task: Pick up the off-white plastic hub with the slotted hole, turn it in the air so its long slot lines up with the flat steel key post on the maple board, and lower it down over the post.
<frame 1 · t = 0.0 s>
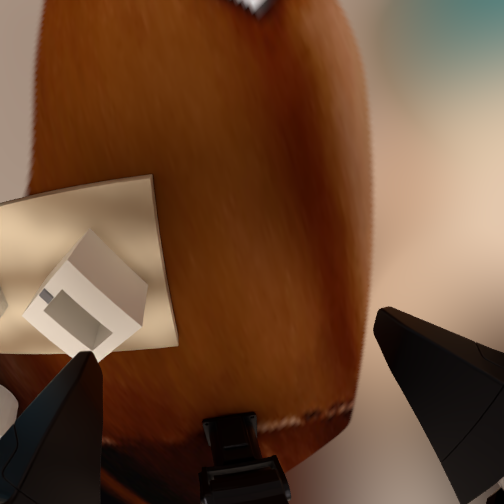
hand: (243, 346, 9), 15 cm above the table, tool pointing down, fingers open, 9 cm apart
key post: (4, 282, 20), resting on maple board
shot glass: (1, 394, 25), on the table
hub: (94, 281, 20), point 1 cm above the table, touching maple board
maple board: (46, 278, 21), on the table
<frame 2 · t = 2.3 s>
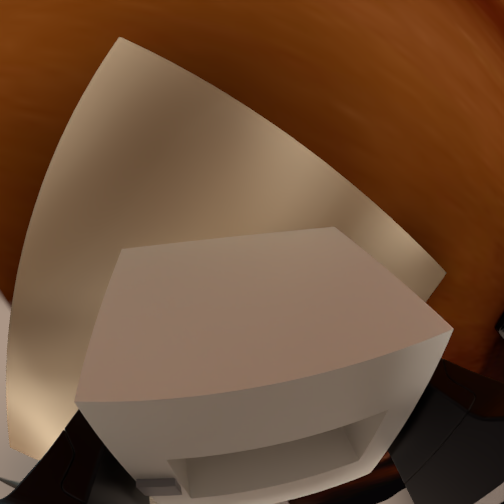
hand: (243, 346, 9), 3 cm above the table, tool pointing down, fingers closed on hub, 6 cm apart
shot glass: (259, 503, 22), on the table
hub: (237, 325, 9), point 2 cm above the table, touching gripper, maple board
maple board: (170, 383, 12), on the table
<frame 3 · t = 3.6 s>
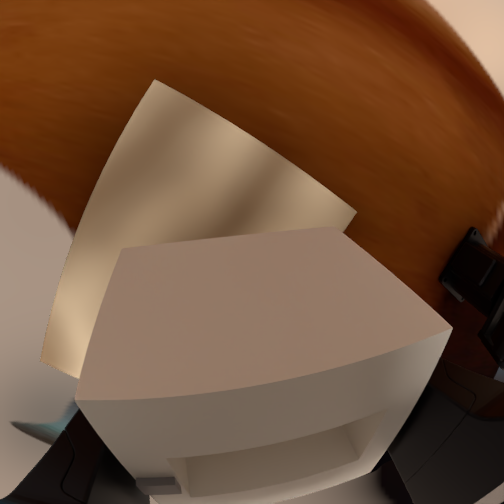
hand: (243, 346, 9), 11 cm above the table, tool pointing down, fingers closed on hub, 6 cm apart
hub: (237, 324, 9), point 10 cm above the table, touching gripper
maple board: (172, 287, 19), on the table
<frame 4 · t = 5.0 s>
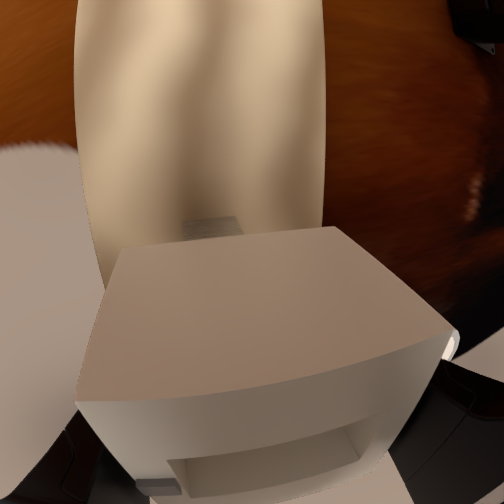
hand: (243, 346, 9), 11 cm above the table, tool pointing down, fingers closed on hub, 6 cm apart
key post: (207, 220, 19), resting on maple board
hub: (237, 324, 9), point 10 cm above the table, touching gripper
maple board: (202, 139, 17), on the table
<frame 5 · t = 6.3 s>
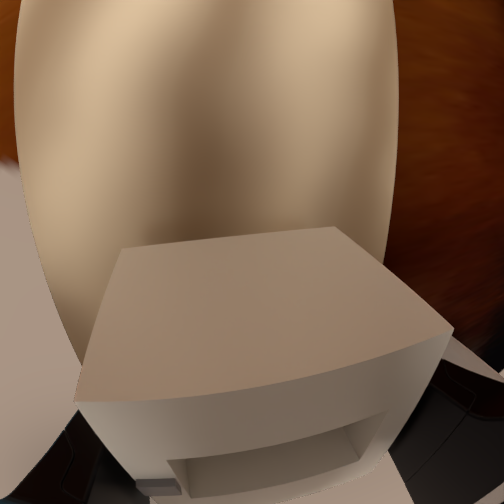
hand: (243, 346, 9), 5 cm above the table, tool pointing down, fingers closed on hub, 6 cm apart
shot glass: (427, 360, 21), on the table
hub: (237, 325, 9), point 4 cm above the table, touching gripper
maple board: (212, 149, 11), on the table
when the fingers open (3 cm above the table, at t = 7.6 s): hub stays where it is, resting on maple board.
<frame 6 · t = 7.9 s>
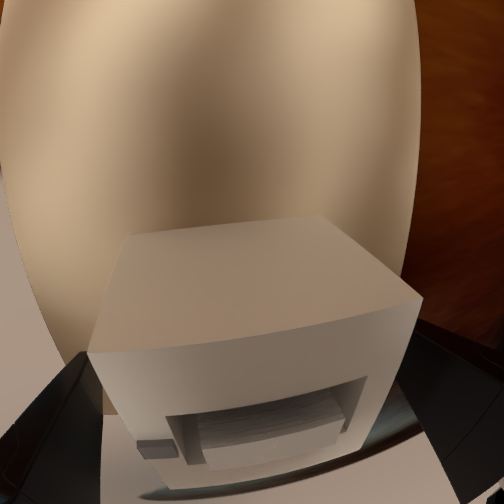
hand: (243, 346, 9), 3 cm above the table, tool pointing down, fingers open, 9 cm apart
key post: (225, 286, 12), resting on maple board
hub: (232, 307, 10), point 1 cm above the table, touching maple board
maple board: (217, 152, 9), on the table
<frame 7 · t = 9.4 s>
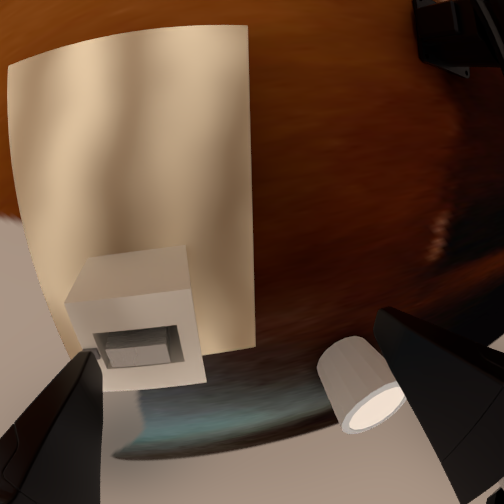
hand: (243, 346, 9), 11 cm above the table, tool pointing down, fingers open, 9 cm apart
key post: (145, 284, 19), resting on maple board
shot glass: (342, 357, 27), on the table
hub: (144, 295, 18), point 1 cm above the table, touching maple board
maple board: (132, 211, 17), on the table
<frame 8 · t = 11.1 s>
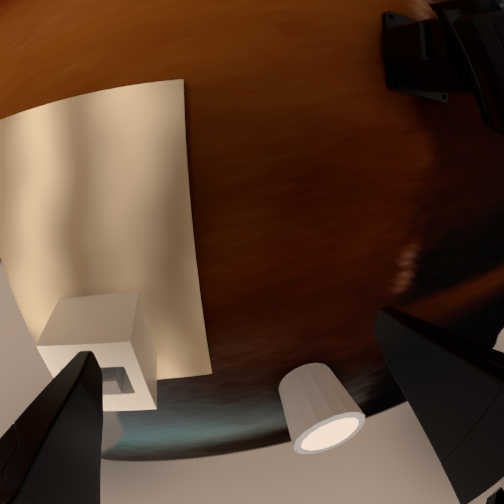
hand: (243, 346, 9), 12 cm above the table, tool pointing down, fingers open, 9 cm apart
key post: (111, 318, 21), resting on maple board
shot glass: (304, 380, 29), on the table
hub: (108, 330, 19), point 1 cm above the table, touching maple board
maple board: (94, 258, 18), on the table
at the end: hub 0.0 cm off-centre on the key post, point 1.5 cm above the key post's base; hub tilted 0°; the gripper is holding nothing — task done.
